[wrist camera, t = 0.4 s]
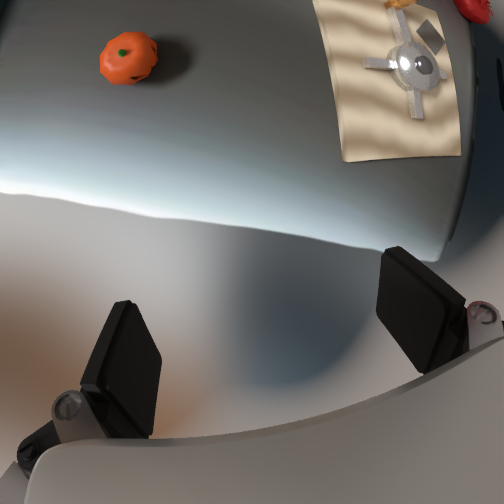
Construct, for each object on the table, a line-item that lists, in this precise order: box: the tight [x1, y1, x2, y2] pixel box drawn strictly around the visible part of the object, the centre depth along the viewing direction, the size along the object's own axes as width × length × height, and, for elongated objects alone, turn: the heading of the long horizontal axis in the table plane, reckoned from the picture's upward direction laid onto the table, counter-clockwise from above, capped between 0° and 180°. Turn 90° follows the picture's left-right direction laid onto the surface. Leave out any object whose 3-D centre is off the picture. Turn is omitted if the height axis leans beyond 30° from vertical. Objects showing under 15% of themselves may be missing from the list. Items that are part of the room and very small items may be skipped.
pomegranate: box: [454, 0, 493, 24], centre depth 20 cm, size 10×10×9 cm
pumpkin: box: [100, 32, 157, 85], centre depth 25 cm, size 8×8×7 cm
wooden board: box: [312, 0, 461, 162], centre depth 31 cm, size 30×26×2 cm
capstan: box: [362, 0, 447, 119], centre depth 26 cm, size 22×17×6 cm
